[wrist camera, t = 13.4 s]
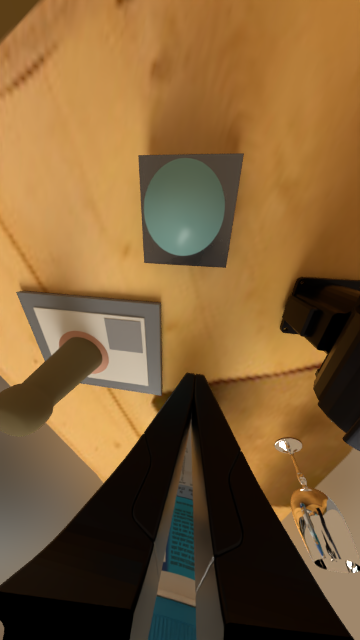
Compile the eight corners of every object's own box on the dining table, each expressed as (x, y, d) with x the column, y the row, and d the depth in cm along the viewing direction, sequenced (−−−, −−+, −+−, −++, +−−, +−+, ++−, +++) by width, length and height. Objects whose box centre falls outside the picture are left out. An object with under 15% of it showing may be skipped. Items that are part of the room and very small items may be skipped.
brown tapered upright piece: (57, 341, 24) (-44, 408, 14) (88, 332, 23) (-1, 400, 13) (79, 371, 26) (5, 447, 17) (109, 365, 25) (47, 445, 15)
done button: (228, 169, 12) (231, 157, 10) (216, 255, 15) (218, 257, 13) (150, 170, 13) (141, 158, 11) (153, 252, 15) (146, 253, 13)
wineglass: (271, 454, 30) (307, 568, 20) (269, 436, 28) (308, 553, 18) (306, 454, 29) (365, 577, 18) (306, 435, 27) (373, 561, 16)
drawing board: (160, 302, 20) (158, 305, 19) (162, 391, 27) (160, 396, 26) (22, 290, 23) (13, 292, 22) (56, 375, 30) (50, 380, 29)
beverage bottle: (216, 402, 27) (238, 726, 9) (210, 432, 30) (217, 704, 12) (166, 395, 28) (95, 674, 10) (166, 425, 31) (115, 668, 13)
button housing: (237, 168, 14) (243, 153, 12) (223, 264, 17) (225, 267, 15) (148, 168, 15) (138, 155, 13) (151, 260, 18) (144, 262, 16)
